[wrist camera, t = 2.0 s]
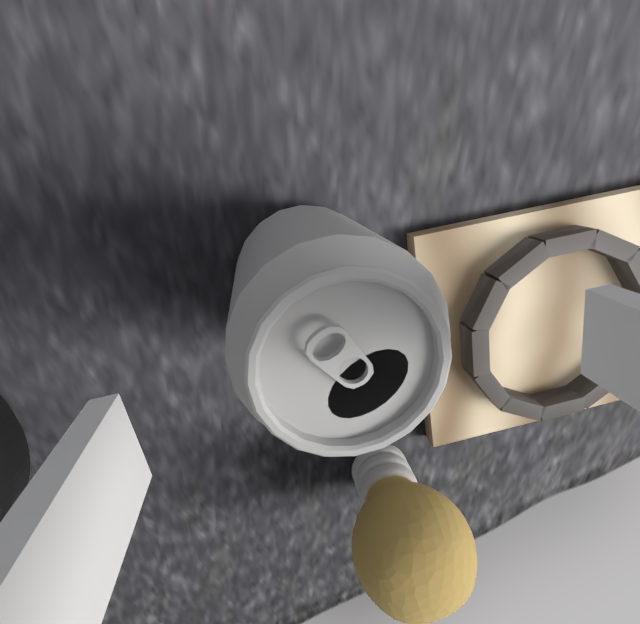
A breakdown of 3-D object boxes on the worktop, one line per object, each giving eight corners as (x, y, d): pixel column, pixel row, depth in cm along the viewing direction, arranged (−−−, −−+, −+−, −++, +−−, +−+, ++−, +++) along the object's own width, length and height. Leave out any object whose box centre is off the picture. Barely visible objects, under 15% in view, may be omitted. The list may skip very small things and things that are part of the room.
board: (426, 435, 28) (443, 462, 26) (406, 233, 23) (424, 242, 21) (639, 382, 29) (676, 402, 27) (664, 179, 24) (711, 181, 22)
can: (297, 358, 25) (334, 517, 14) (207, 267, 22) (159, 371, 11) (395, 277, 24) (519, 375, 13) (313, 172, 21) (379, 181, 10)
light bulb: (346, 510, 29) (390, 671, 20) (317, 442, 27) (351, 589, 18) (430, 477, 29) (511, 622, 20) (408, 407, 27) (489, 534, 18)
